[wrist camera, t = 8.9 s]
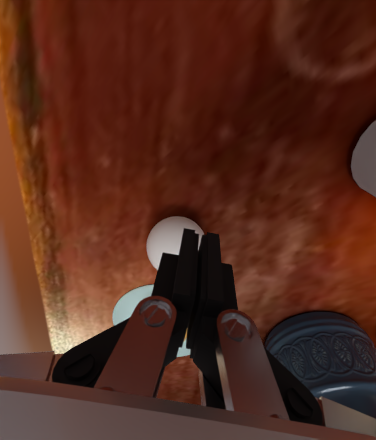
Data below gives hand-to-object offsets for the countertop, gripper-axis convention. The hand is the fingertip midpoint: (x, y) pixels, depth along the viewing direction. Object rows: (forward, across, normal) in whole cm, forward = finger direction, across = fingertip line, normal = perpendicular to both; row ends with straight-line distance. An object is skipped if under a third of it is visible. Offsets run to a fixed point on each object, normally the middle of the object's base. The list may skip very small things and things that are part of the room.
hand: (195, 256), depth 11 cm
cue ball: (+9, +1, +6) cm, 11 cm away
